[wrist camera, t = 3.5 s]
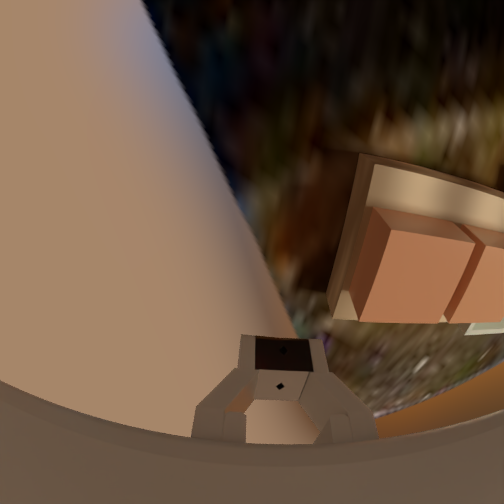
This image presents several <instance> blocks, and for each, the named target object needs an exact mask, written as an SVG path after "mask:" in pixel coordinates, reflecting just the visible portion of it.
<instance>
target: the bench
mask: <svg viewBox="0 0 504 504" xmlns="http://www.w3.org/2000/svg"><path fill="white" fill-rule="evenodd" d="M373 207H378V208H384V209H389V210H395V211H401V212H406V213H412V214H417V215H422V216H428V217H433V218H438V219H443V220H447V221H452V222H453V223H454V224H455V225H456V226H457V227H459V228H460V229H461V226H462V224H466V225H471V226H475V227H480V228H484V229H488V230H492V231H497V232H501V233H504V192H501V191H498V190H496V189H493V188H490V187H487V186H484V185H481V184H478V183H475V182H472V181H469V180H466V179H463V178H459V177H456V176H453V175H449V174H446V173H442V172H439V171H435V170H432V169H428V168H424V167H420V166H417V165H413V164H409V163H405V162H400V161H396V160H392V159H388V158H383V157H378V156H374V155H369V154H364V153H359V158H358V163H357V168H356V173H355V178H354V183H353V187H352V192H351V197H350V201H349V205H348V210H347V214H346V218H345V223H344V227H343V231H342V235H341V239H340V243H339V247H338V251H337V254H336V258H335V262H334V266H333V269H332V273H331V277H330V280H329V284H328V287H327V291H326V296H327V300H328V304H329V308H330V312H331V316H332V319H347V320H358V318H357V315H356V312H355V309H354V306H353V303H352V300H351V297H350V294H349V288H350V285H351V282H352V279H353V276H354V273H355V269H356V266H357V263H358V260H359V256H360V253H361V249H362V246H363V243H364V239H365V236H366V232H367V228H368V225H369V221H370V217H371V213H372V210H373ZM439 322H448V321H447V320H446V318H445V316H444V315H442V317H441V319H440V320H439Z"/></svg>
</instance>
